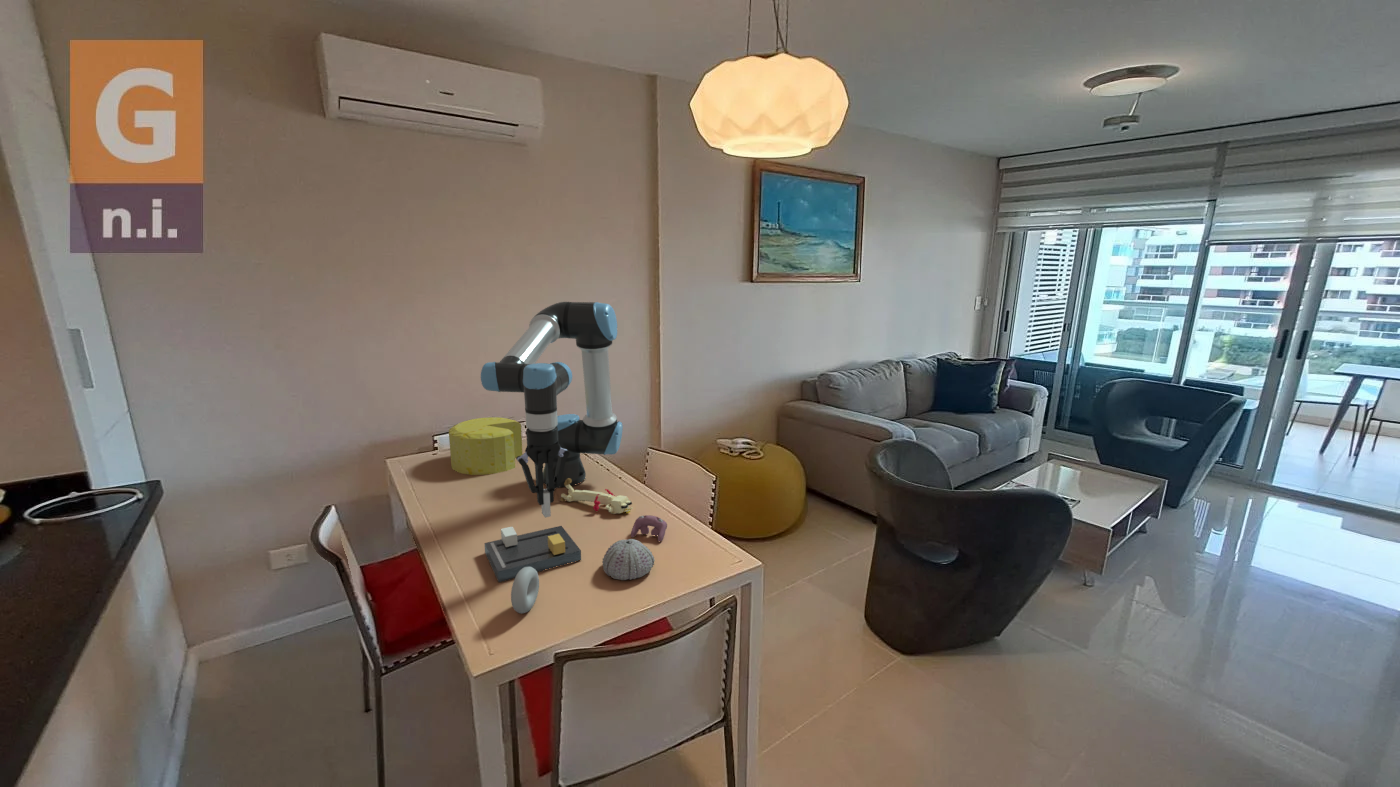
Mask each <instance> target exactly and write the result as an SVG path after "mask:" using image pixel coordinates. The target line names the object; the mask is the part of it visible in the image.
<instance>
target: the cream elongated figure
mask: <svg viewBox="0 0 1400 787" xmlns="http://www.w3.org/2000/svg"><path fill="white" fill-rule="evenodd" d="M571 482H572V479H571V478H568V479H567V480H566V481H565V483H564V486H565V487H564V488H566V489H568V490H567V494H566V493H561V494H560V498H559V500H560V502H562V501H565V500H566V501H567V502H570V503H572V502H578V501H579V502H590V503H593V508H592V509H593V510H594V511H595V512H597V511H598V512H599V509H600V505H605V509H607V510H608V513H610V514H611V515H612V514H613V515H615V514H622V513H623V512H626V513H625V514H630V513H631V510H633V508H634V507H630V506H631V505H633V503H632V501H631V500H630V498H629V497H628V496H627V495H619V494H618V495H617V496H616V495H614V493H613V492H611V490H609V489H607V488H605V489H604V491H606V492H607V493H605V492H602V491H594V490H589V489H588V490H587V489H583V490H581V489H574V487H573V486H571V485H570V483H571ZM566 501H565V502H566Z"/></svg>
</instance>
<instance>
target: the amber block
mask: <svg viewBox="0 0 1400 787" xmlns="http://www.w3.org/2000/svg"><path fill="white" fill-rule="evenodd" d="M548 547H549V549H550V550H551V552H552V553H553V555H557V554H561V553H565V541H564V540H563V538H562V537H561V536H560V534H555V535H551V536H548Z"/></svg>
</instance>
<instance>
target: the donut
mask: <svg viewBox="0 0 1400 787" xmlns="http://www.w3.org/2000/svg"><path fill="white" fill-rule="evenodd" d="M539 590H540V578H539V572H537V571H536V570H535V569H534V568H532V567H524V568H522V569H521V570H520V571H519V572H518V574H517V575H516V577H515V578H514V579H513V581H512V586H511V591H510V602H511V606H512V609H513V610H514V611H515V612H517V613H518V614H526V613H528V612H529V611H530V610H531V609H532V608H533V607H534V606H535V605H534V604H536V601H537V598H538V596H539V595H538V594H539Z"/></svg>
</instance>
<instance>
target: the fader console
mask: <svg viewBox="0 0 1400 787" xmlns="http://www.w3.org/2000/svg"><path fill="white" fill-rule="evenodd" d="M555 534H560V536H561V537H562V538H563V540H564V541H565V553H561V554H557V555H553V553H552V552H551V550H550V549H549V547H548V536H551V535H555ZM517 543H518V544H517V545H513V546H509V547H506V546H505V545H504V543H503V541H502V539H501V538H500V539H497V540H492V541H488V542H484V554H485V556H486V558H487V560H489V561H488V562H489V565H490V567H491V569H492V571H493V573H494V575H495V578H496V579H497V582H498V583H502V581H503V582H505V580H506V581H509V579H510V580H514V579H515V577H516V575H517V574H518V572H519V571H520V570H521V569H522V568H524V567H532V568H534V569H535V570H536V571H537V573H539V571H540V572H544V571H546V570H545V569H548V570H550V569H549V568H552V569H554V568H553V567H556V566H559V567H561V566H560V565H563V566H565V565H564V564H567V563H571V562H574V563H576V562H575V561H578V560H581V561H582V550H581V549H580V547H579V546H578V545H577V544H576V542H575V541H574V540H573V538H572V537H571V535H569V533H568V532H567V531H566V529H565V528H564V527H563V526H562V525H559V526H554V527H550V528H545V529H541V530H536V531H532V532H527V533H524V534H523V533H522V534H519V535H518V534H517ZM578 562H579V561H578ZM571 564H572V563H571ZM567 565H568V564H567ZM556 568H557V567H556ZM543 570H544V571H543ZM513 578H514V579H513Z"/></svg>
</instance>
